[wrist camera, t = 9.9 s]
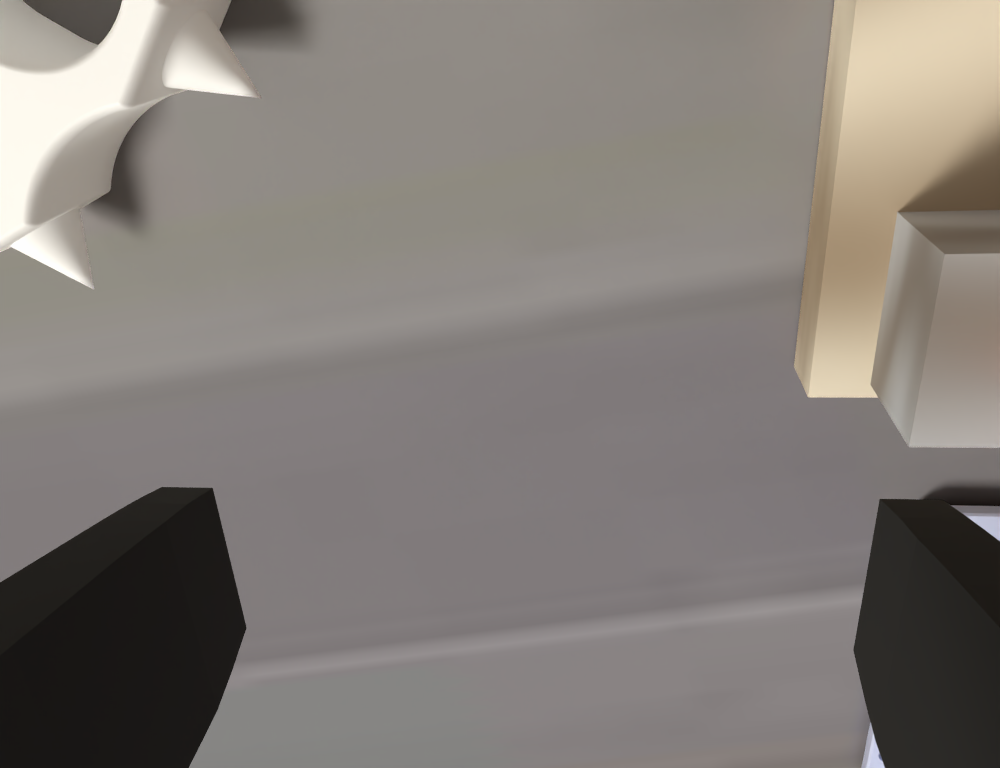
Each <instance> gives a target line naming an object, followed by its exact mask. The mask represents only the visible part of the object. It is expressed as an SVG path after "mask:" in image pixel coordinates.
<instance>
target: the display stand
mask: <svg viewBox="0 0 1000 768" xmlns="http://www.w3.org/2000/svg"><path fill="white" fill-rule="evenodd" d="M794 367H795V369H796V372H797V374H798V376H799V378H800V380H801V383H802V385H803V387H804V389H805V391H806V393H807V396H808V397H878V398H879V399H880V401H881V403H882V404H883V406H884V407H885V409H886V411H887V412H888V414H889V416H890V417H891V419H892V420H893V422H894V424H895V425H896V427H897V429H898V430H899V432H900V433H901V435H902V437H903V438H904V440H905V442H906V443H907V445H908V446H909V447H955V448H1000V0H835V2H834V11H833V20H832V29H831V38H830V47H829V56H828V65H827V74H826V83H825V92H824V101H823V110H822V119H821V128H820V137H819V146H818V155H817V164H816V173H815V182H814V191H813V200H812V209H811V218H810V227H809V236H808V245H807V254H806V263H805V272H804V281H803V290H802V299H801V308H800V317H799V326H798V335H797V344H796V353H795V362H794Z"/></svg>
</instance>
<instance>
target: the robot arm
mask: <svg viewBox="0 0 1000 768" xmlns="http://www.w3.org/2000/svg"><path fill="white" fill-rule="evenodd" d="M245 630H246V624H245V620H244V616H243V612H242V608H241V603H240V599H239V595H238V591H237V587H236V583H235V579H234V574H233V570H232V566H231V562H230V558H229V554H228V550H227V546H226V541H225V537H224V533H223V529H222V525H221V521H220V517H219V513H218V508H217V504H216V500H215V496H214V492H213V488H179V487H161V488H159V489H157V490H155V491H153V492H151V493H149V494H147V495H145V496H143V497H141V498H140V499H138V500H136V501H134V502H132V503H131V504H129V505H127V506H125V507H124V508H122V509H120V510H118V511H117V512H115V513H113V514H112V515H110V516H108V517H107V518H105V519H103V520H102V521H100V522H98V523H97V524H95V525H93V526H92V527H90V528H89V529H87V530H85V531H84V532H82V533H80V534H79V535H77V536H75V537H74V538H72V539H71V540H69V541H67V542H66V543H64V544H62V545H61V546H59V547H58V548H56V549H54V550H53V551H51V552H49V553H48V554H46V555H45V556H43V557H41V558H40V559H38V560H36V561H35V562H33V563H31V564H30V565H28V566H27V567H25V568H23V569H22V570H20V571H18V572H17V573H15V574H13V575H12V576H10V577H9V578H7V579H5V580H4V581H2V582H0V768H189V766H190V764H191V762H192V760H193V758H194V756H195V754H196V752H197V750H198V748H199V746H200V744H201V742H202V740H203V738H204V736H205V734H206V732H207V730H208V728H209V726H210V724H211V722H212V720H213V718H214V716H215V714H216V712H217V710H218V707H219V704H220V701H221V699H222V696H223V693H224V691H225V688H226V685H227V683H228V680H229V677H230V675H231V672H232V669H233V666H234V663H235V660H236V657H237V654H238V651H239V648H240V645H241V642H242V639H243V636H244V633H245ZM854 654H855V658H856V663H857V667H858V672H859V676H860V680H861V685H862V689H863V693H864V698H865V702H866V706H867V710H868V714H869V718H870V727H869V732H868V737H867V742H866V747H865V752H864V758H863V763H862V768H1000V506H957V505H949V504H948V503H946V502H945V501H943V500H911V499H880V501H879V507H878V513H877V518H876V524H875V530H874V536H873V541H872V547H871V553H870V559H869V564H868V570H867V576H866V582H865V587H864V593H863V599H862V605H861V610H860V616H859V622H858V628H857V633H856V639H855V645H854Z"/></svg>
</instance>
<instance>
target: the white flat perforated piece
mask: <svg viewBox="0 0 1000 768" xmlns="http://www.w3.org/2000/svg"><path fill="white" fill-rule="evenodd" d="M230 3H231V0H122V4H121V7H120V11H119V13H118V16H117V18H116V21H115V23H114V25H113V27H112V28H111V30H110V32H109V33H108V34H107V36H106V37H105V38H104V40H103V41H102V42H101V43H100V44H99V45H97V44H94V43H92V42H89V41H87V40H85V39H83V38H81V37H79V36H77V35H76V34H74V33H72V32H70V31H69V30H67V29H65V28H63V27H62V26H60V25H58V24H57V23H55V22H53V21H51V20H50V19H48V18H46V17H44V16H43V15H41V14H40V13H38V12H37V11H35V10H34V9H32V8H31V7H30V6H28V5H27V4H26V3H25V2H24V1H23V0H0V252H2V251H4V250H6V249H8V248H10V247H12V248H14V249H16V250H18V251H20V252H22V253H24V254H26V255H28V256H30V257H32V258H34V259H36V260H38V261H40V262H42V263H43V264H45V265H47V266H49V267H51V268H53V269H55V270H57V271H59V272H61V273H63V274H65V275H67V276H69V277H71V278H73V279H74V280H76V281H78V282H80V283H82V284H84V285H86V286H88V287H90V288H92V289H94V284H93V279H92V273H91V268H90V262H89V257H88V251H87V246H86V240H85V234H84V229H83V223H82V218H81V212H80V209H81V208H83V207H85V206H86V205H88V204H90V203H91V202H93V201H95V200H96V199H98V198H100V197H101V196H103V195H105V194H106V193H108V192H109V191H110V189H111V179H112V172H113V167H114V163H115V159H116V156H117V153H118V151H119V148H120V146H121V144H122V142H123V140H124V138H125V136H126V134H127V133H128V131H129V130H130V128H131V127H132V126H133V124H134V123H135V122H136V121H137V120H138V119H139V117H140V116H141V115H142V114H144V113H145V112H146V111H147V110H148V109H149V108H151V107H152V106H153V105H155V104H156V103H158V102H159V101H161V100H163V99H165V98H166V97H168V96H171V95H173V94H177V93H180V92H183V91H186V90H195V91H203V92H212V93H221V94H230V95H239V96H248V97H257V98H261V96H260V94H259V93H258V91H257V90H256V88H255V86H254V85H253V83H252V82H251V80H250V78H249V77H248V75H247V74H246V72H245V70H244V69H243V67H242V66H241V64H240V62H239V61H238V59H237V58H236V56H235V54H234V53H233V51H232V50H231V48H230V46H229V45H228V43H227V42H226V40H225V38H224V37H223V35H222V34H221V32H220V27H221V25H222V22H223V20H224V18H225V15H226V13H227V10H228V8H229V5H230Z"/></svg>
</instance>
